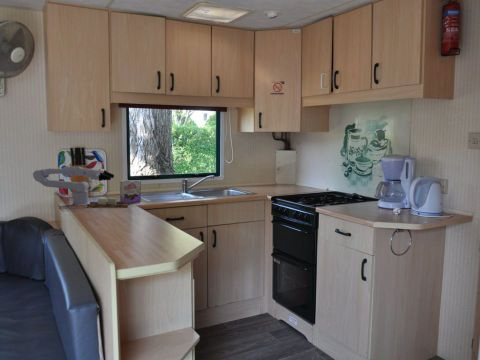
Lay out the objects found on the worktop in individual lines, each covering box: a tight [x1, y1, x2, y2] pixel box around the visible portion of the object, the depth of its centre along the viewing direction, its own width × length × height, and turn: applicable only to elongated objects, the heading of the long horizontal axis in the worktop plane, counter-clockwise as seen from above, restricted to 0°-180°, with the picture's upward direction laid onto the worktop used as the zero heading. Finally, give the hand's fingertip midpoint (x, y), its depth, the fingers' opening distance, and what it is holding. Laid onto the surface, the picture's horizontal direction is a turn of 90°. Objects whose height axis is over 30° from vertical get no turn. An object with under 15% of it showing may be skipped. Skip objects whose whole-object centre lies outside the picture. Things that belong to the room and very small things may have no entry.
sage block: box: [107, 197, 117, 204], centre depth 282 cm, size 5×6×5 cm
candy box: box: [119, 179, 142, 203], centre depth 301 cm, size 14×6×16 cm, turn 105°
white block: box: [97, 197, 108, 204], centre depth 281 cm, size 5×6×5 cm
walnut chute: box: [86, 201, 130, 208], centre depth 282 cm, size 25×13×3 cm, turn 100°
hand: (112, 177), depth 289 cm, fingers open, 7 cm apart
